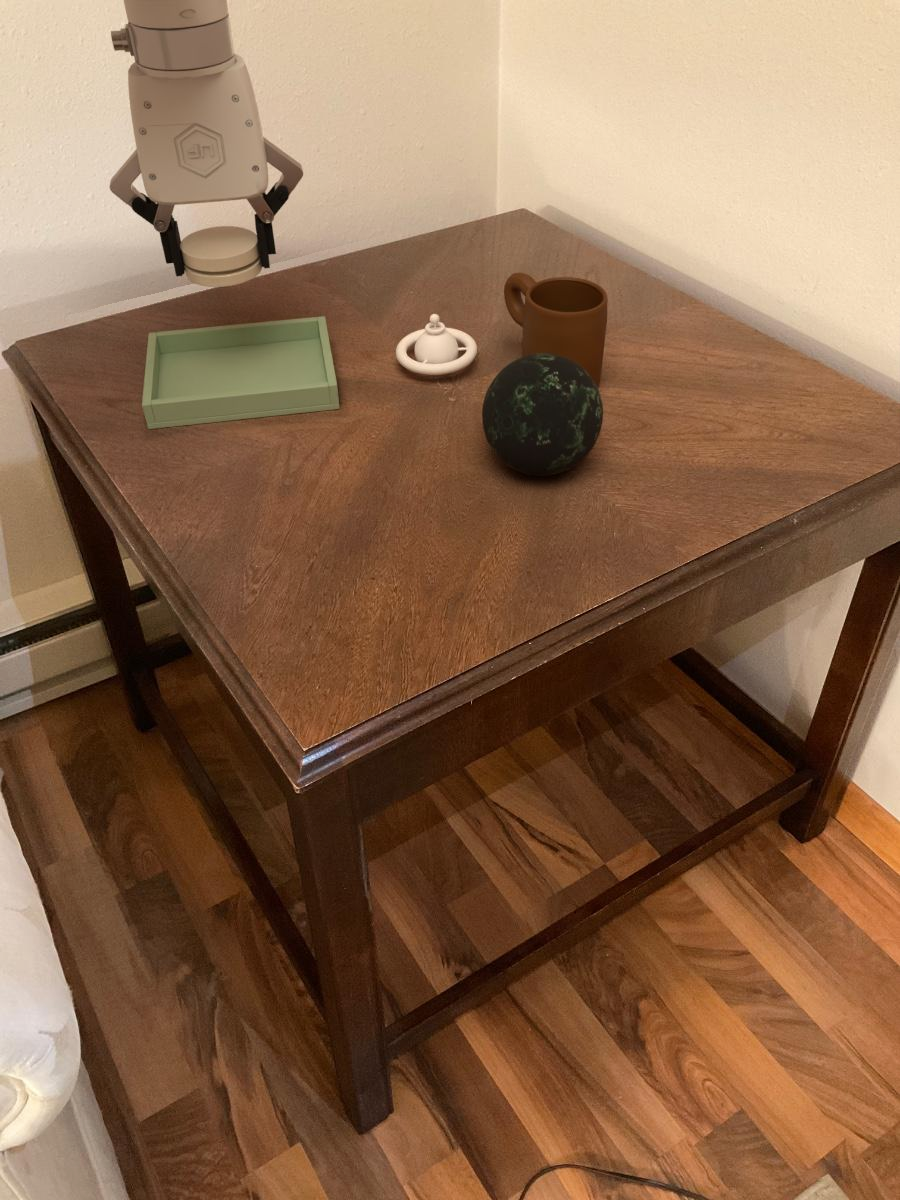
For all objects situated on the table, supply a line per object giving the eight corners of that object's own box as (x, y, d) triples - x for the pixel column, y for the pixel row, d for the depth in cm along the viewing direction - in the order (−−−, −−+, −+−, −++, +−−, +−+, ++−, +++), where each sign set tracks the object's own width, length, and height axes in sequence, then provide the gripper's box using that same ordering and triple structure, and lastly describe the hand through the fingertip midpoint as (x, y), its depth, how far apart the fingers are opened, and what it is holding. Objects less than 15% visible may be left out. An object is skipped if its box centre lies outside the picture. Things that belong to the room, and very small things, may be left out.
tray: (148, 429, 90) (141, 405, 89) (154, 356, 100) (148, 332, 98) (339, 409, 92) (337, 384, 91) (327, 339, 102) (324, 315, 100)
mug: (475, 365, 98) (476, 274, 91) (533, 341, 101) (538, 252, 95) (557, 417, 91) (563, 323, 84) (616, 389, 94) (627, 297, 88)
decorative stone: (537, 419, 91) (543, 319, 84) (621, 465, 85) (634, 362, 78) (457, 463, 86) (456, 360, 79) (541, 515, 80) (547, 409, 74)
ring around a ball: (493, 371, 97) (449, 337, 102) (492, 318, 93) (447, 286, 98) (424, 398, 94) (382, 362, 99) (420, 344, 90) (377, 310, 95)
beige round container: (185, 295, 86) (178, 261, 84) (187, 261, 91) (180, 229, 89) (264, 287, 87) (259, 254, 85) (261, 254, 92) (256, 222, 90)
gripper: (62, 65, 72) (121, 294, 84) (299, 50, 74) (323, 275, 87) (72, 38, 78) (126, 256, 90) (293, 24, 80) (317, 240, 92)
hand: (223, 264), depth 88 cm, fingers closed on beige round container, 6 cm apart
